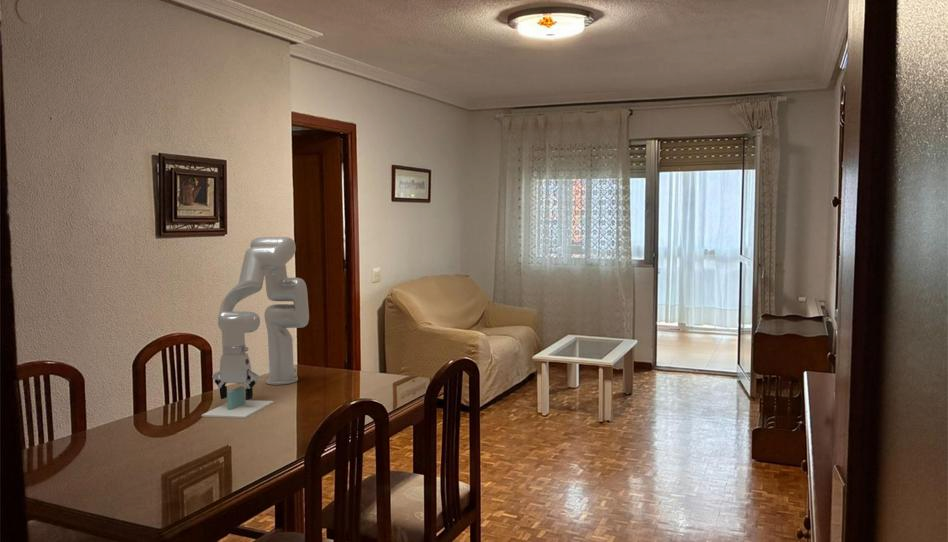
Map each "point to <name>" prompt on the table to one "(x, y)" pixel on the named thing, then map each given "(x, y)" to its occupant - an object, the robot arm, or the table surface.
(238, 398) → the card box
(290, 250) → the robot arm
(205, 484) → the table surface
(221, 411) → the mat
